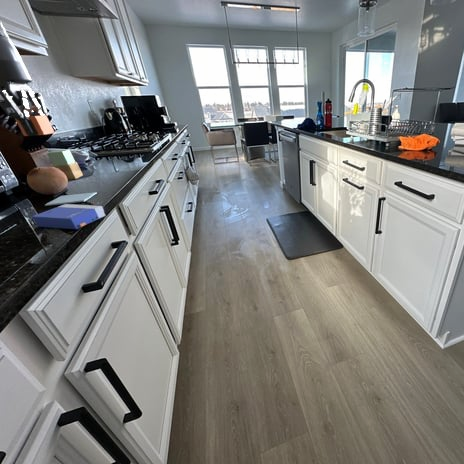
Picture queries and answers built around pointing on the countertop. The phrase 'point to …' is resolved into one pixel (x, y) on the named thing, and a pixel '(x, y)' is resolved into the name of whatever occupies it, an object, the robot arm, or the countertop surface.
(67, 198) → the pad
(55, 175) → the onion
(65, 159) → the middle block
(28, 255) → the countertop surface
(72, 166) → the bottom block
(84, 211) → the walkman
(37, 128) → the top cube
